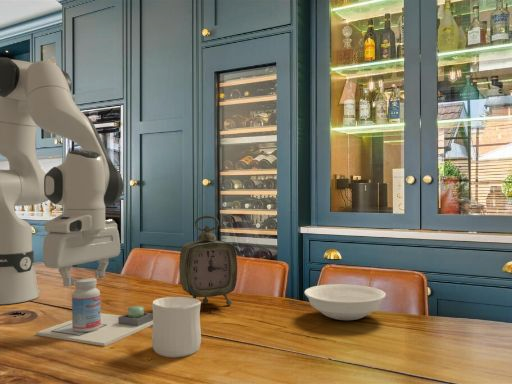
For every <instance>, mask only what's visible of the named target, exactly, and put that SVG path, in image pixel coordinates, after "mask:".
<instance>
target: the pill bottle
mask: <svg viewBox="0 0 512 384" xmlns="http://www.w3.org/2000/svg"><path fill="white" fill-rule="evenodd" d="M97 279H98V278H95V277H83V278H77V279H75V280H74V286H75V288H76V289H75V290H74V291H73V292H72V294H71V312H72V313H71V317H72V319H71V320H72V328H73V330H74V331H76V332H89V331H93V330H96V329H98V328H100V326H101V313H102V311H101V292H100V290H99V289H98V288H96V286H97V284H98V282H97V281H98V280H97Z"/></svg>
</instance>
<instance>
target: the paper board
mask: <svg viewBox="0 0 512 384" xmlns="http://www.w3.org/2000/svg"><path fill="white" fill-rule="evenodd" d="M120 316H121V315H120V314H119V315H117V314H112V313H111V314H110V313H103V312H101V326H100V328H98V329H96V330H93V331H89V332H76V331H74V330H73V328H72V319H71V320H68V321H64V322H62V323H59V324H56V325H53V326H51V327H46V328H44V329H41V330H39V331H35V336H38V337H39V336H41V337H47V338H52V339H59V340H64V341H70V342H76V343H84V344H88V345H95V346H101V347H107V346H109V345H111V344H113V343H115V342H117V341H120V340H122V339H124V338H126V337H128V336H131V335H133V334H135V333H137V332H140V331H142V330H145V329H147V328H149V327H151V326H153V320H152V321H150V322H147V323H145V324H143V325H141V326H131V325H123V324H118V317H120Z"/></svg>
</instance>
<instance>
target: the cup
mask: <svg viewBox="0 0 512 384" xmlns="http://www.w3.org/2000/svg"><path fill="white" fill-rule="evenodd" d="M201 304H202V301H200V299H197V298H196V299H195V298H193V297H190V296H189V297H187V296H166V297H161V298H160V297H159V298H156V299H154V300H153V301H152V303H151V307H152V313H153V325H152V328H151V329H152V330H151V346H152V349H153V351H154V352H155V354H156V355H157V354H158V355H160V356H162V357H165V358H166V357H167V358H183V357H187V356H191V355H193V354H195V353H197V352H198V351H199V349H200V347H201V343H202V334H201V333H202V330H201V320H200V319H201V318H200V311H201Z"/></svg>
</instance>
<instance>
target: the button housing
mask: <svg viewBox="0 0 512 384" xmlns="http://www.w3.org/2000/svg"><path fill="white" fill-rule="evenodd" d="M152 320H153V312H146V311H144V316H142V317H140V318H130V317H128V313H125V314H123V315H120V317H118V324H123V325H131V326H141V325H143V324H145V323H147V322H150V321H152Z"/></svg>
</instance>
